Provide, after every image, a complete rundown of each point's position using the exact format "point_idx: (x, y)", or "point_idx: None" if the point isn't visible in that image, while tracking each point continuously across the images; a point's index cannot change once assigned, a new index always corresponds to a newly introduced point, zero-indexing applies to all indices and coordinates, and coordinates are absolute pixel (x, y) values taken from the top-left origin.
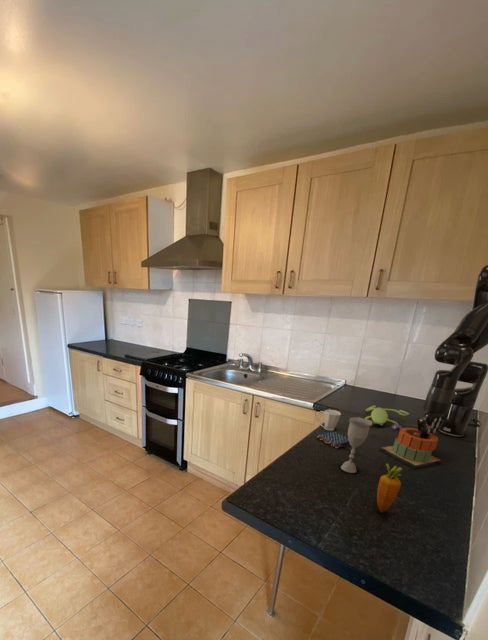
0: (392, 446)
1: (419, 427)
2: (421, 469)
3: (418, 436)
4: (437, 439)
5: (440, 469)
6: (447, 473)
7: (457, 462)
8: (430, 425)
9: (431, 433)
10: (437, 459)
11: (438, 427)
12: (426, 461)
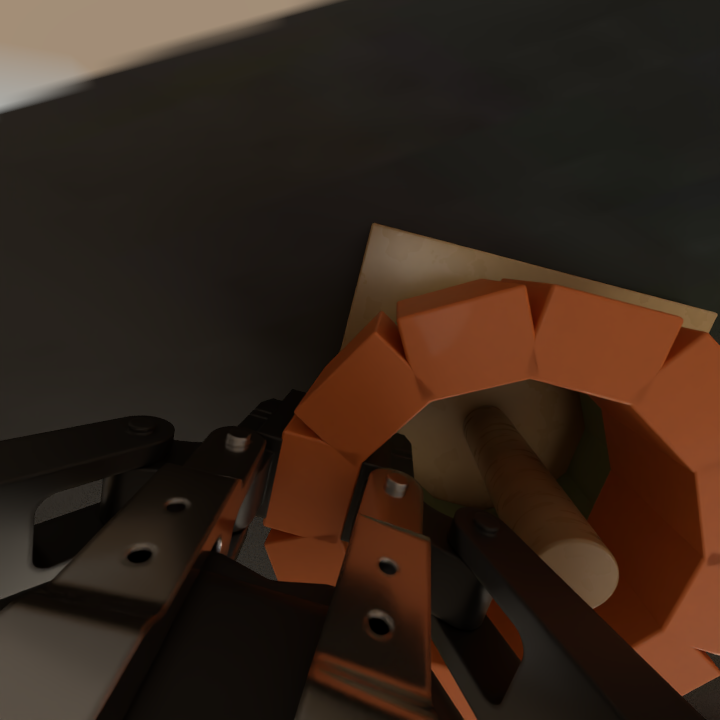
0: None
1: (510, 663)
2: (644, 274)
3: (579, 520)
4: (494, 302)
5: (496, 180)
6: (528, 113)
7: (203, 146)
8: (421, 606)
9: (282, 448)
10: (394, 246)
11: (111, 455)
12: None
